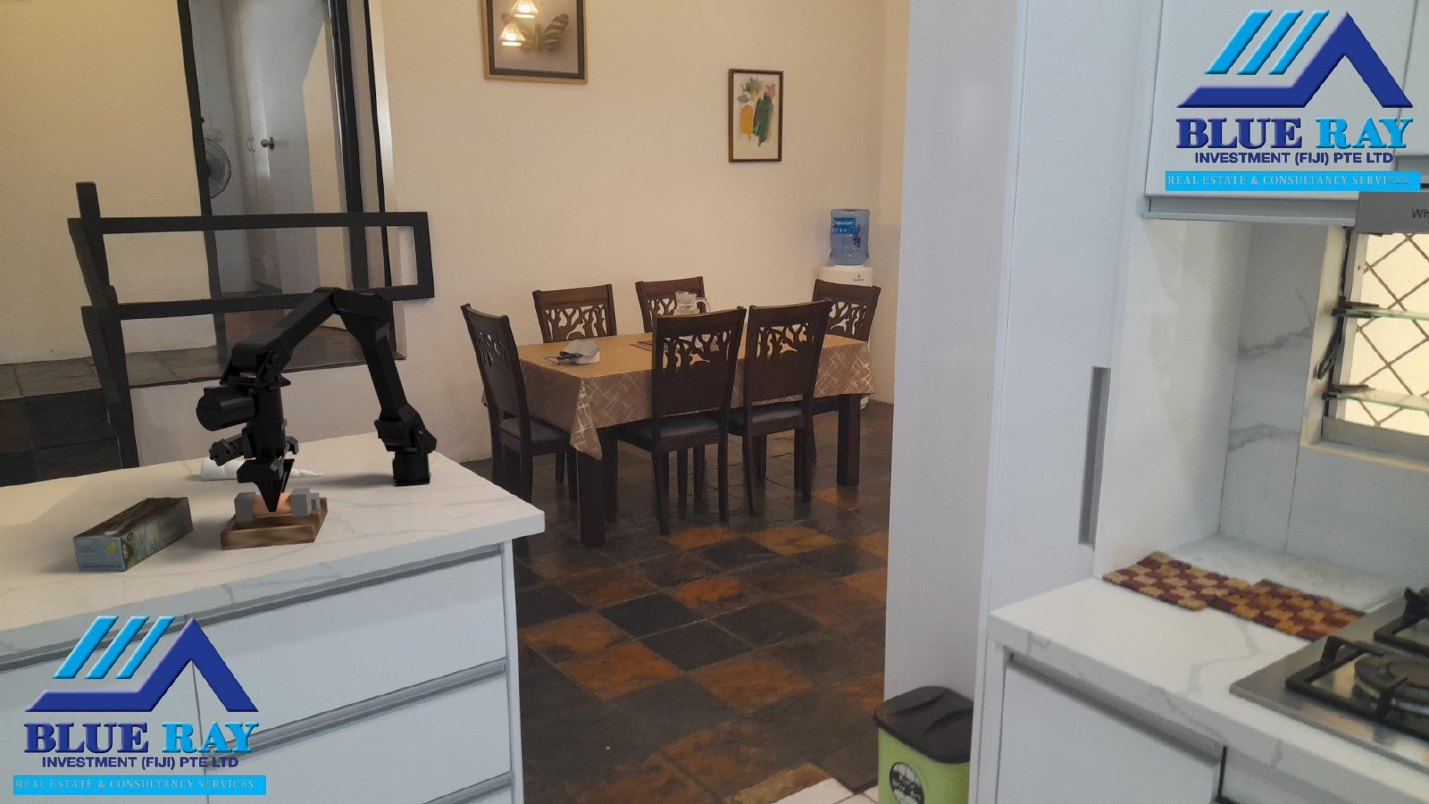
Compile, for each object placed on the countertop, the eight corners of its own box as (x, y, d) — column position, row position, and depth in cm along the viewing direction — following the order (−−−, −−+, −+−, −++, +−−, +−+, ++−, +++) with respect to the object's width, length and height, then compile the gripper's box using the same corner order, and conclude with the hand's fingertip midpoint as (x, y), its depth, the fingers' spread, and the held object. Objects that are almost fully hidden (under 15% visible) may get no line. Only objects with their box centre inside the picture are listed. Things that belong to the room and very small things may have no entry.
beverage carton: (74, 573, 147) (68, 532, 146) (151, 530, 166) (146, 494, 164) (125, 573, 147) (119, 532, 145) (196, 530, 165) (191, 494, 164)
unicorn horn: (316, 482, 193) (314, 459, 192) (199, 483, 193) (196, 460, 192) (326, 476, 197) (323, 453, 196) (211, 476, 198) (208, 454, 197)
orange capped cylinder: (311, 508, 163) (309, 487, 162) (308, 515, 160) (305, 494, 159) (241, 514, 161) (239, 492, 160) (236, 521, 157) (233, 499, 156)
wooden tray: (327, 511, 174) (326, 497, 173) (314, 542, 159) (312, 526, 158) (244, 518, 171) (242, 503, 170) (221, 550, 155) (219, 533, 155)
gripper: (224, 408, 164) (235, 495, 167) (194, 434, 146) (207, 531, 149) (294, 404, 166) (303, 490, 169) (273, 429, 148) (284, 525, 152)
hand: (274, 508), depth 160 cm, fingers closed on orange capped cylinder, 3 cm apart
